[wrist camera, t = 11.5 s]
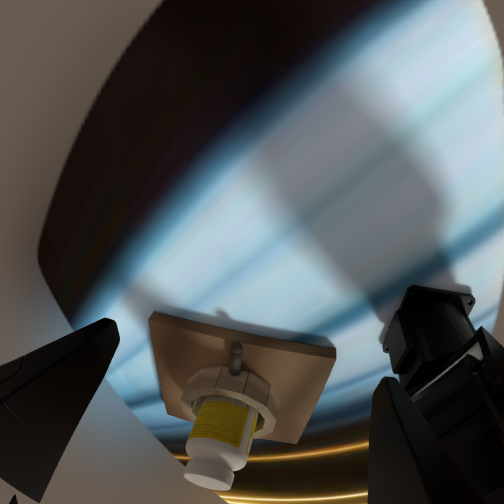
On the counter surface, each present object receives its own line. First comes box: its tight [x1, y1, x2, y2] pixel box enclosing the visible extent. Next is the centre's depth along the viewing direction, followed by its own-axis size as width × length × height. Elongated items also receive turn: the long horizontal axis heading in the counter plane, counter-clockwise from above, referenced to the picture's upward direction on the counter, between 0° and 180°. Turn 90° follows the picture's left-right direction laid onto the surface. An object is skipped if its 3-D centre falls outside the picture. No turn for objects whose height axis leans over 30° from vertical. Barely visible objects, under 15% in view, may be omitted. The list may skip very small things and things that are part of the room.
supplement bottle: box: [184, 395, 259, 491], centre depth 22 cm, size 5×5×10 cm
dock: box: [148, 311, 336, 444], centre depth 26 cm, size 16×16×4 cm
